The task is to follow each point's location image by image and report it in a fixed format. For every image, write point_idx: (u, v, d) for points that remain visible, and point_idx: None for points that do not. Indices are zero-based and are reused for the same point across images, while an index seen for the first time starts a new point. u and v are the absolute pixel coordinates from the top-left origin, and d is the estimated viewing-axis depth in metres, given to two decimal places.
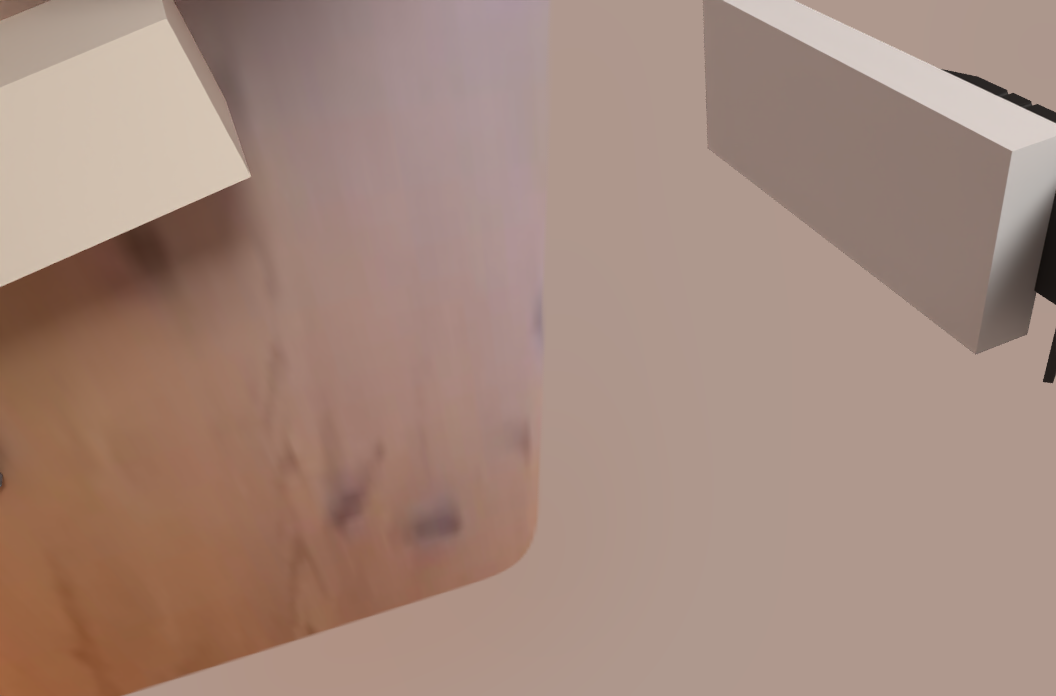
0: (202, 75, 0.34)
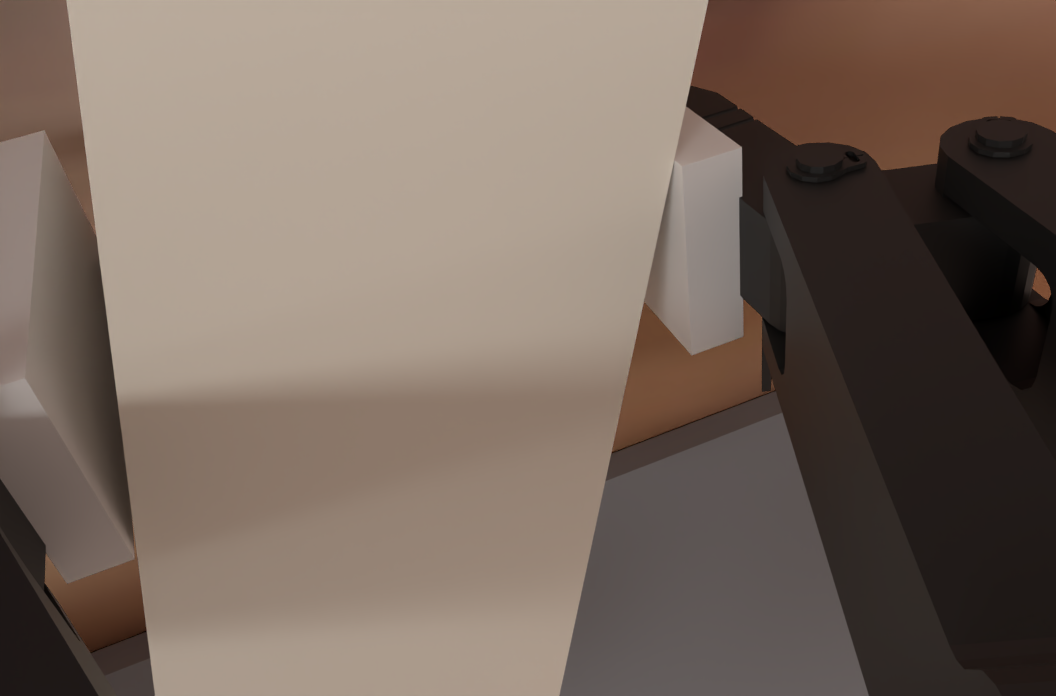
0: None
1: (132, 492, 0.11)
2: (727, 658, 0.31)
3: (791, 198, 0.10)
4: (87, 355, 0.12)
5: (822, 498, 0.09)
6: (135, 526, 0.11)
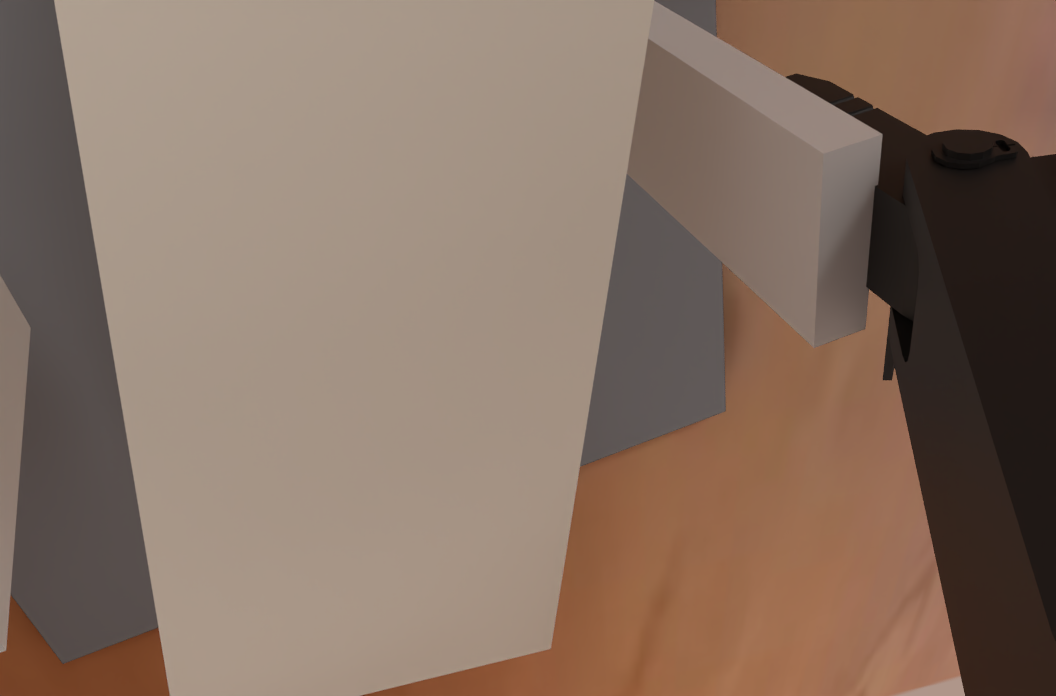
0: None
1: (131, 448, 0.11)
2: None
3: (934, 182, 0.10)
4: None
5: (935, 486, 0.09)
6: (135, 481, 0.12)
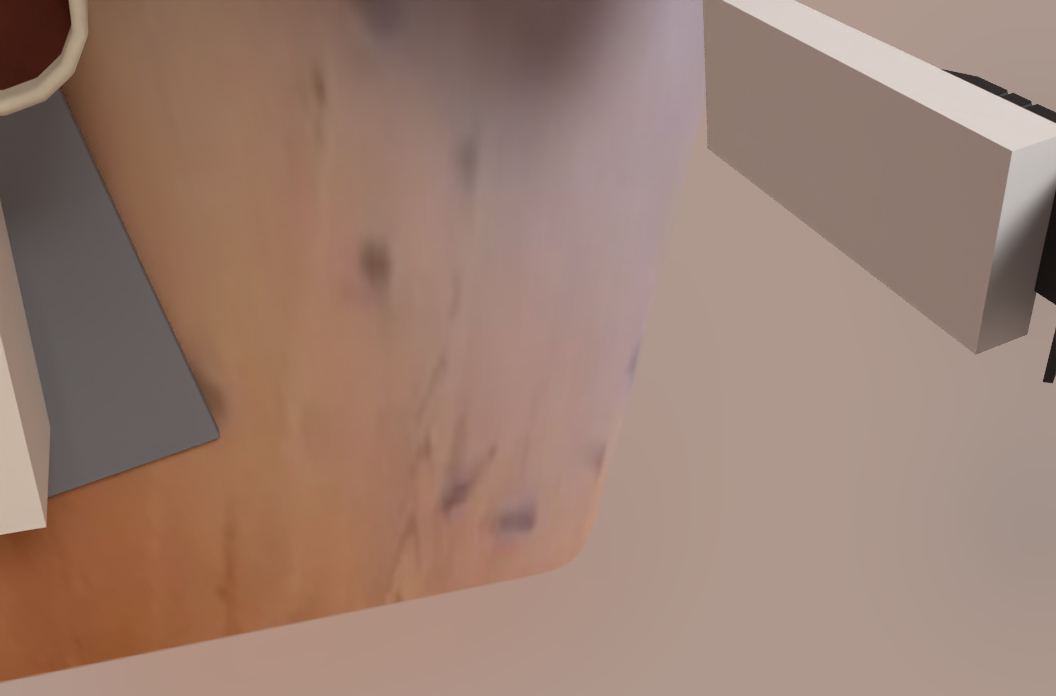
0: None
1: None
2: None
3: None
4: None
5: None
6: None
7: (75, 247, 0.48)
